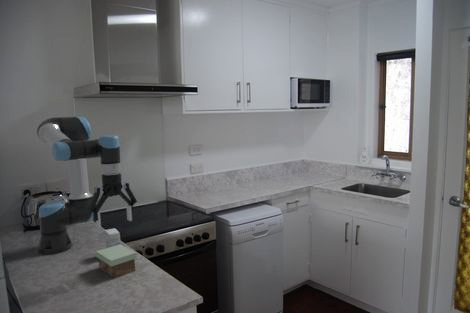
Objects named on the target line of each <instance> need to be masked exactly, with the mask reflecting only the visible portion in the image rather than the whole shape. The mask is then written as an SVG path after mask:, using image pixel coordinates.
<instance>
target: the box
mask: <svg viewBox="0 0 470 313" xmlns="http://www.w3.org/2000/svg"><path fill="white" fill-rule="evenodd" d="M135 261H136V260H135V259H133V260H130V261H127V262H124V263H121V264H118V265H115V266H110V265H108V264H107V263H105V262H104V261H102V260H100V259H99V258H98V266H99V269H101V270H102V271H103V272H104V273H106V274H108V275H109V276H110V277H112V278H113V279H116V278H120V277H122V276H125V275H128V274H131V273H133V272H136V263H135Z"/></svg>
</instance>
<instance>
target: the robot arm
mask: <svg viewBox="0 0 470 313" xmlns="http://www.w3.org/2000/svg"><path fill="white" fill-rule="evenodd" d="M36 135H37V137H38V139H39V140H40V141H42V142H43V143H45V144H48V145H49V146H50V147H51V148H52V156H53V158H54V160H55V161H57V162H62V161H63V162H66V161H67V165H68V175H69V176H68V177H69V184H70V186H69V187H70V195H69V197H68V201H65V200H63V199H57V200H51V201H48V202H46V203H43V204H42V205H40V206H39V207H38V218H39V228H40V229H39V230H40V231H39V232H40V238H39V241H38V245H37V251H38V254H41V255H54V254H59V253H63V252H65V251H68V250H70V249H71V248H72V247H73V242H72V239H71V236H70V234H69V233H68V227H69V226H72V225H76V224H83V223H87V222H91V221H95V227H96V229H99V230H100V229H102V223H101V222H102V220H101V213H100V209H101V208H102V206H103V205H104V203H105V202H106V201H107V199H108V198H109V197H110V198H111V197H117V196H120V197H121V199H123V200H124V202H125V203H126V207H125V208H126V219H127V221H129V222H132V221H133V215H132V214H133V213H134V205H135V204H136V203H138V201H137V199H136V197H135V195H134V193H133V192H132V190H131V188H130V184H129V182H125V181H124V182H123V183H122V174H121V173H122V172H121V171H122V170H121V168H122V167H121V150H120V138H119V136H118V135H112V134H111V135H109V134H108V135H100V136H99V138H96V139H95V138H94V139H91V138H92V128H91V125H90V123H89V120H87V118H86V117H83V116H66V117H65V116H63V117H56V116H55V117H49V118H47V119H44V120H43V121H42V122H41V123H39V125H38V126H37V129H36ZM97 158H100V169H101V172H100V173H101V183H102V185H101V187H97V186H95V187H94V192H93V194H92V193H91V192H90V187H89V186H90V185H89V175H88V173H89V172H88V165H87V164H88V163H87V159H97ZM123 189H124V191H125V193H126V194H127V195H126V194H124V192H123V191H122V190H123ZM101 193H102V194H101Z"/></svg>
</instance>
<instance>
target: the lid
mask: <svg viewBox="0 0 470 313" xmlns="http://www.w3.org/2000/svg"><path fill="white" fill-rule="evenodd" d="M95 257H96V258H98V260H99V259H100V260H102V261H104V262H105V263H107V264H108V265H110V266H115V265H118V264H121V263H124V262H127V261H130V260H133V259H137V252H136V251H134V250H132V249H131V248H128V247H126V246H124V245H123V244H120V245H116V246H113V247H109V248H107V247H106V248H103V249H99V250H96V251H95Z"/></svg>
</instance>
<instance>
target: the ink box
mask: <svg viewBox="0 0 470 313" xmlns="http://www.w3.org/2000/svg"><path fill="white" fill-rule="evenodd" d="M104 233H105V244H106V245H105V246H106V248H109V247H113V246H116V245H120V244H121V242H122V241H121V233H120V232H119V231H118V230H117V229H116V228H114V227H113V228H109V229H105V230H104ZM121 245H122V244H121Z"/></svg>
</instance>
